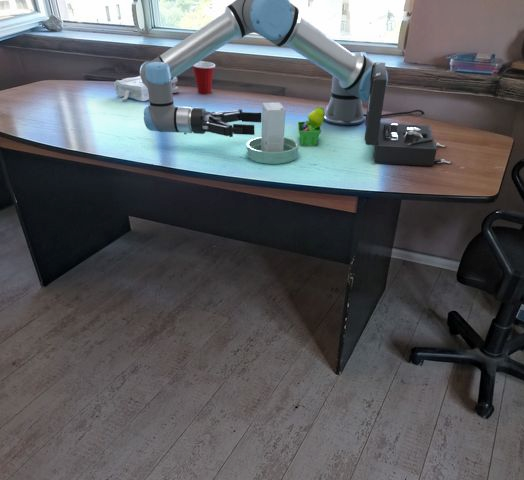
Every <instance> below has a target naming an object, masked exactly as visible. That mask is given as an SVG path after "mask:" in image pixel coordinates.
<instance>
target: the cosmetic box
mask: <svg viewBox="0 0 524 480" xmlns="http://www.w3.org/2000/svg"><path fill="white" fill-rule="evenodd" d="M261 104H262V105H261V107H262V111H261V136H260V137H261V151H264V152H283V146H284V137H285V130H286V129H285V128H286V126H285V125H286V111H287V110H286V109H285V108H284V106H283V105H282V103H280V102H262V103H261Z"/></svg>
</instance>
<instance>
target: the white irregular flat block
mask: <svg viewBox="0 0 524 480" xmlns="http://www.w3.org/2000/svg"><path fill="white" fill-rule="evenodd" d="M171 82H172V93H173V94H174V93H178V92H179V87H178V86H176V85H177V83H178V82H179V81H178V76H176V77H175V78H173V79H172V80H171ZM113 88H114V91H115V94H116V95H117V96H118V97H119V100H121V101H125V100H127V99H128V98H129V99H134V100H136V101H140V102H146V101H150V100H149V94H148V89H147V87H146V86H145V85H144V84H143V82H142V80H141V77H140V74H139V75H138V76H134V77H126V78H122V79H121V80H119V79H116V80H115V81H114V84H113Z"/></svg>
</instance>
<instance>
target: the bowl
mask: <svg viewBox="0 0 524 480" xmlns="http://www.w3.org/2000/svg"><path fill="white" fill-rule="evenodd" d="M246 156H247V158H248V159H249V160H251V161H253V162H256V163H261V164H268V165H279V164H285V163H289V162H293V161H294V160H297V158H298V156H299V143H298V141H296V140H294V139H292V138H289V137H285V136H284V146H283V152H264V151H261V136H260V137H259V136H258V137H255V138H252V139H250V140H249V141H247V142H246Z"/></svg>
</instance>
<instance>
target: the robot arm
mask: <svg viewBox="0 0 524 480" xmlns="http://www.w3.org/2000/svg"><path fill="white" fill-rule="evenodd" d="M250 34H257V35H259V36H260V37H262V38H263V39H265V40H267V41H269V42H270V43H272V44H274V45H275V46H277V47H278V48H283V47H285V46H286V47H288V48H289V49H291V50H293V51H294V52H296V53H297V54H299V55H300V56H302V57H304V58H305V59H306V60H308V61H310V63H313V64H314V65H315V66H317V67H319V68H320V69H322V70H323V71H325V72H327V73H328V74H330V75H331V76H332V77H331V78H332V80H331V92H330V98H329V102H328V104H327V106H326V109H325V111H324V112H325V116H324V120H323V121H325V122H326V123H328V124H332V125H337V126H356V125H359V124H362V123H363V122H364V119H365V118H364V117H366V114H367V113H364V109H363V108H364V107H363V103H362V102H367V103H368V99H369V91H370V84H371V82H370V78H371V70H372V65H373V64H374V63H376V62H374V61H373V60H372V59H370V58H369V57H367V52H364V51H357V52H356V51H354V52H351V51H349V50H348V49H347V48H345V46H342V45H341V44H340V43H338V42H336V41H335V40H334V39H332V38H331V37H330V36H328V35H327V34H325V33H324V32H323V31H321V30H320V29H318V28H317V27H315V26H314V25H313V24H311V23H310V22H309V21H307V20H305V19H304V18H302V17H301V16H300V10H299V8H298V6H295V5H294V4H292V3H291V2H290V0H234V1H233V2H232V3H230V4H229V5H227V6H226V7H224V12H223V13H221V14H220V15H219V16H217V17H216V18H214V19H212V20H211V21H210V22H208V23H207V24H205V25H203V26H202V27H201V28H200V29H198V30H196V31H194V32H193V33H192V34H191V35H189V36H187V37H185V38H184V39H183V40H181V41H180V42H178V43H177V44H175V45H174V46H172V47H171V48H169V49H167V50H166V51H165V52H163V53H161V54H160V55H159V56H157V57H156V58H154V59H153V60H147V61H145V62H143V63H142V64H141V66H140V69H139V75H140V77H141V80H142V82H143V84H144V85H145V86H146V87H147V89H148V94H149V100H148V101H149V105H146V106H145V107H144V110H143V122H144V125H145V127H146V129H147V130H148V131H150V132H159V133H178V134H179V133H181V134H182V133H183V135H188V134H192V133H193V134H197V135H198V134H199V135H204V134H205V133H211V134H216V135H219V136H224V137H229V138H233V137H234V135H246V136H255V124H244V123H262V112H247V111H243V109H241V108H239V109H237V110H224V111H223V110H222V111H211V113H212V114H211V115H207V114H206V109H205V108H204V107H193V108H192V107H191V106H175V104H174V93H172V82H171V80H172V79H173V78H175V77H178V76H180V75H181V74H182V73H184V72H186V71H187V70H189V69H190V68H191V67H192V66H193V65H195V64H196V63H198V62H199V61H203V60H204V59H206V58H207V57H208V56H210V55H212V54H214V52H216V51H217V50H219V49H221V48H222V47H224V46H226V45H227V44H228V43H230V42H232V41H234V39H235V38H236V39H239V40H240V39H243V38H244V37H245V36H248V35H250ZM192 68H193V67H192ZM386 77H387V82H386V88H385V90H386V89H387V87H388V83H389V73H388V71H387V70H386ZM418 112H419V113H421V114H422V115H425V112H424V111H423V110H422V109H413V110H410V111H400V112H390V113H382V115H381V118H382V117H388V116H398V115H408V114H409V115H410V114H413V113H418ZM240 121H241V122H242V124H241V123H233V122H240ZM230 123H233V124H230Z"/></svg>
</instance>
